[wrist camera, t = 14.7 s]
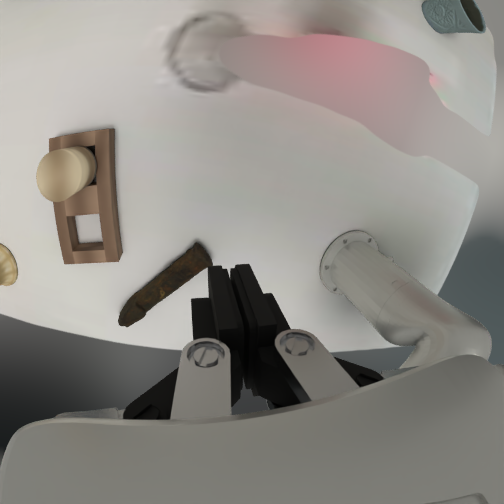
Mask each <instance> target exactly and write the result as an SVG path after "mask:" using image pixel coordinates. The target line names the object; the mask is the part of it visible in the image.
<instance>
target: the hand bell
mask: <svg viewBox="0 0 504 504" xmlns="http://www.w3.org/2000/svg"><path fill="white" fill-rule="evenodd" d="M17 275H18V271H17V265H16V262H15V259H14V257H13V255H12V254H11V252H10V251H9V250H8V249H7V248H6V247H5V246H3V245H2V244H0V285H4V286H9V285H12V284H14V283H15V281H16V279H17Z"/></svg>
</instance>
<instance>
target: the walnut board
mask: <svg viewBox="0 0 504 504" xmlns="http://www.w3.org/2000/svg"><path fill="white" fill-rule="evenodd" d="M93 145H95V158H96V162H97V171H96V182H91V183H90V184H89V185H88V186H87V187H85V188H83V189H81V190H80V191H78V192H77V193H75V194H74V195H72V196H71V197H69V198H67V199H66V200H64V201H61V202H53V204H54V212H55V219H56V225H57V231H58V236H59V241H60V246H61V251H62V256H63V260H64V264H81V263H102V262H119V260H120V258H121V255H122V253H123V252H122V245H121V237H120V229H119V219H118V209H117V196H116V180H115V129H103V130H95V131H89V132H82V133H76V134H71V135H65V136H60V137H55V138H50V139H49V152H51V151H54V150H59V149H64V148H70V147H74V146H84V147H85V146H93ZM87 214H99V215H100V223H101V231H102V238H103V242H95V243H79V241H78V235H77V229H76V222H75V216H76V215H87Z"/></svg>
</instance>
